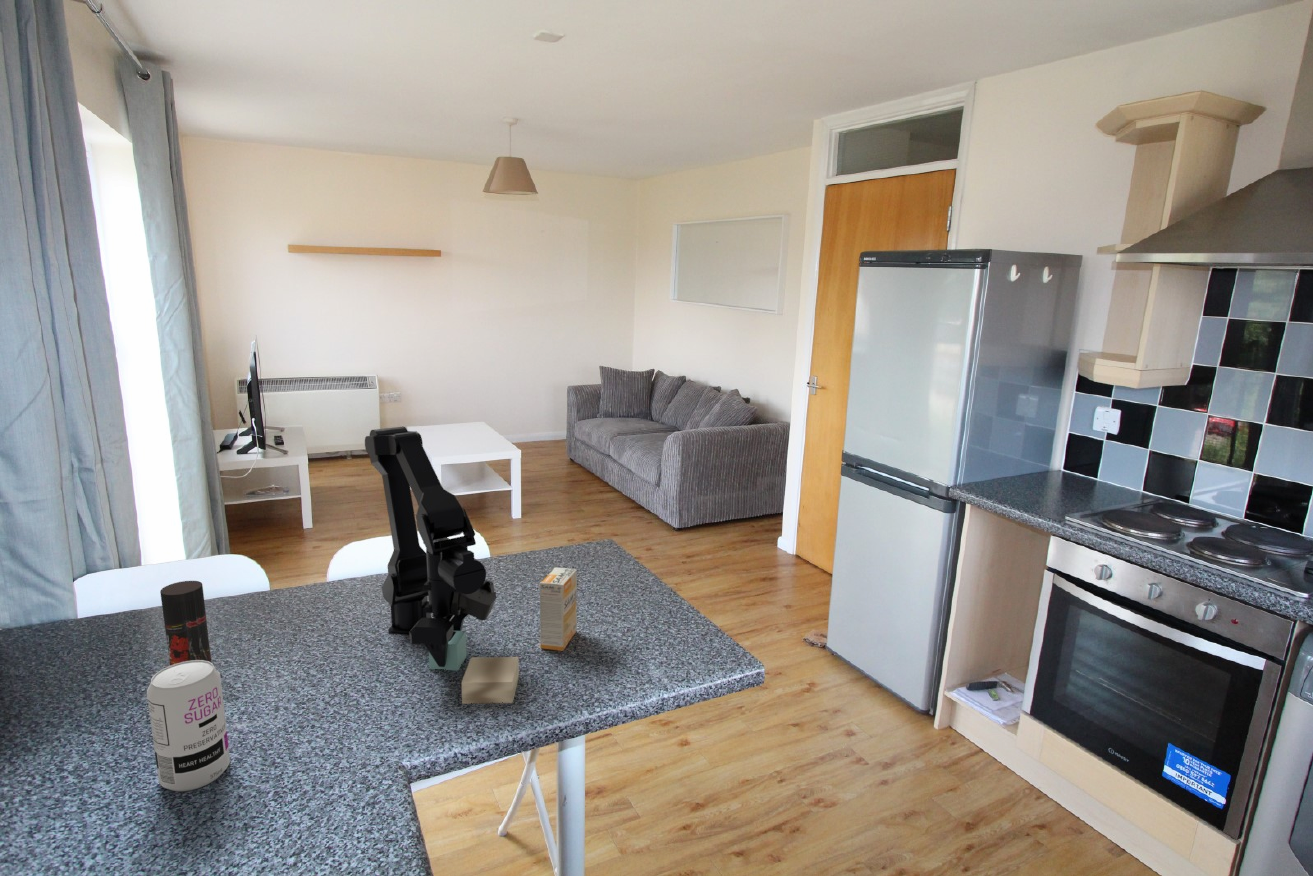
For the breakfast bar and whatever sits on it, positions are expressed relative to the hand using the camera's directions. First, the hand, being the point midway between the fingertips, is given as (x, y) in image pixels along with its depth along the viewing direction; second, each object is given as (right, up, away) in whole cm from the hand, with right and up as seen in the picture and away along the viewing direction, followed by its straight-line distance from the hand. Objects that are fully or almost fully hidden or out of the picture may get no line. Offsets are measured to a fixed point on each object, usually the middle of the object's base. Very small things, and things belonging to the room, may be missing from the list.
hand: (448, 657), depth 128 cm
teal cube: (0, -1, 0) cm, 1 cm away
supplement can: (-26, -7, -30) cm, 40 cm away
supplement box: (+19, 0, +9) cm, 21 cm away
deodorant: (-43, -1, -4) cm, 43 cm away
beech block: (+10, -3, -8) cm, 13 cm away
